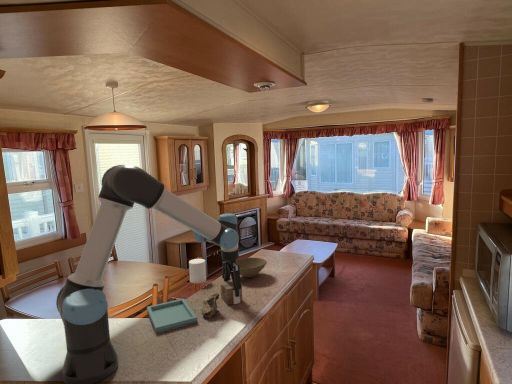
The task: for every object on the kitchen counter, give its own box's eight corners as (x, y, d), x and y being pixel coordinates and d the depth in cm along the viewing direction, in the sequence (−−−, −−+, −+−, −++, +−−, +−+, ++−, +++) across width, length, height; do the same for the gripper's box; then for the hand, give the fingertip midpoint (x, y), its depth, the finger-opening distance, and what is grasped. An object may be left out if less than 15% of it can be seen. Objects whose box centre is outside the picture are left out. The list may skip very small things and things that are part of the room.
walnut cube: (242, 301, 145) (241, 285, 144) (227, 305, 142) (226, 289, 141) (235, 295, 151) (235, 280, 150) (221, 298, 148) (220, 283, 147)
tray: (197, 322, 128) (197, 317, 127) (156, 333, 121) (155, 327, 120) (183, 303, 145) (183, 298, 144) (147, 311, 138) (146, 306, 137)
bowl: (233, 270, 183) (233, 256, 182) (267, 270, 183) (266, 256, 182) (229, 283, 165) (229, 268, 164) (267, 283, 164) (266, 267, 163)
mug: (192, 264, 164) (184, 258, 174) (193, 284, 165) (185, 277, 175) (207, 261, 168) (198, 255, 178) (208, 281, 169) (199, 274, 179)
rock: (226, 313, 131) (223, 290, 138) (211, 310, 127) (208, 287, 134) (214, 323, 135) (211, 301, 142) (199, 321, 131) (197, 298, 138)
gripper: (248, 254, 136) (250, 306, 139) (228, 242, 155) (230, 288, 158) (231, 257, 133) (234, 311, 135) (213, 245, 152) (215, 292, 155)
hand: (232, 299), depth 147 cm, fingers open, 9 cm apart
